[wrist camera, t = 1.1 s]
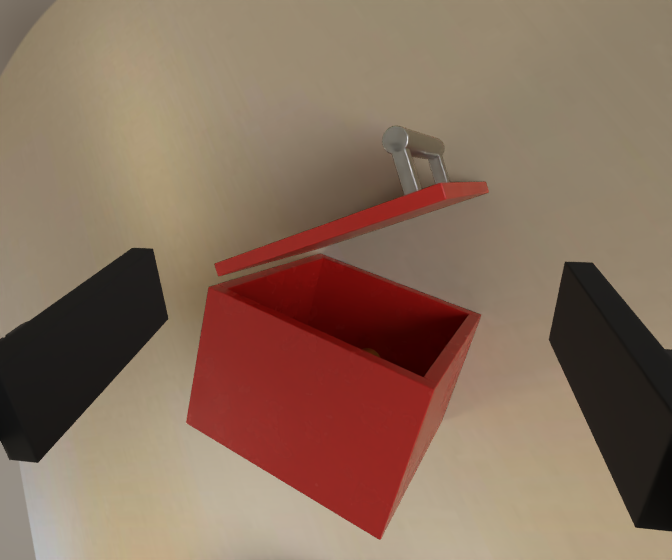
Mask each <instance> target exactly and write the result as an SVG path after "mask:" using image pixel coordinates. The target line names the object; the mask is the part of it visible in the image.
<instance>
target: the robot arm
mask: <svg viewBox="0 0 672 560" xmlns="http://www.w3.org/2000/svg"><path fill="white" fill-rule="evenodd" d="M167 320H168V315H167V310H166V305H165V301H164V296H163V292H162V287H161V283H160V278H159V274H158V269H157V265H156V260H155V255H154V251H153V249H147V248H131V249H130V250H129V251H127V252H126V253H124V254H123V255H122V256H120V257H119V258H117V259H116V260H114V261H113V262H112V263H110V264H109V265H107V266H106V267H105V268H103V269H102V270H100V271H99V272H98V273H96V274H95V275H93V276H92V277H91V278H89V279H88V280H86V281H85V282H83V283H82V284H81V285H79V286H78V287H76V288H75V289H74V290H72V291H71V292H69V293H68V294H67V295H65V296H64V297H62V298H61V299H60V300H58V301H57V302H55V303H54V304H52V305H51V306H50V307H48V308H47V309H45V310H44V311H43V312H41V313H40V314H38V315H37V316H36V317H34V318H33V319H31V320H30V321H27V322H25V323H23V324H21V325H19V326H18V327H17V328H15V329H14V330H12V331H11V332H10V333H8V334H7V335H5V336H6V337H5V338H3V337H2V338H1V339H0V441H1V443H2V445H3V447H4V449H5V451H6V453H7V455H8V458H9V460H18V461H27V462H36V463H38V462H39V461H40V460H41V459H42V458H43V457H44V456H45V454H46V453H47V452H48V451H49V450H50V449H51V448H52V447H53V446H54V444H55V443H56V442H57V441H58V440H59V439H60V438H61V437H62V436H63V435H64V433H65V432H66V431H67V430H68V429H69V428H70V427H71V426H72V425H73V424H74V422H75V421H76V420H77V419H78V418H79V417H80V416H81V415H82V414H83V413H84V411H85V410H86V409H87V408H88V407H89V406H90V405H91V404H92V403H93V401H94V400H95V399H96V398H97V397H98V396H99V395H100V394H101V393H102V392H103V390H104V389H105V388H106V387H107V386H108V385H109V384H110V383H111V382H112V381H113V379H114V378H115V377H116V376H117V375H118V374H119V373H120V372H121V371H122V369H123V368H124V367H125V366H126V365H127V364H128V363H129V362H130V361H131V360H132V358H133V357H134V356H135V355H136V354H137V353H138V352H139V351H140V350H141V349H142V347H143V346H144V345H145V344H146V343H147V342H148V341H149V340H150V339H151V337H152V336H153V335H154V334H155V333H156V332H157V331H158V330H159V329H160V328H161V326H162V325H163V324H164V323H165V322H166V321H167ZM549 341H550V343H551V346H552V348H553V350H554V352H555V354H556V356H557V359H558V361H559V363H560V365H561V367H562V369H563V372H564V374H565V376H566V378H567V380H568V382H569V385H570V387H571V389H572V391H573V393H574V395H575V398H576V400H577V402H578V404H579V406H580V408H581V410H582V413H583V415H584V417H585V419H586V421H587V423H588V426H589V428H590V430H591V432H592V434H593V436H594V439H595V441H596V443H597V445H598V447H599V449H600V452H601V454H602V456H603V458H604V460H605V462H606V465H607V467H608V469H609V471H610V473H611V475H612V478H613V480H614V482H615V484H616V486H617V488H618V491H619V493H620V495H621V497H622V499H623V501H624V504H625V506H626V508H627V510H628V512H629V514H630V517H631V519H632V521H633V523H634V525H635V527H636V528H645V529H654V530H663V531H672V350H669V349H664V348H663V347H662V346H661V344H660V343H659V342H658V341H657V340H656V338H655V337H654V336H653V335H652V334H651V332H650V331H649V330H648V329H647V328H646V326H645V325H644V324H643V323H642V322H641V320H640V319H639V318H638V317H637V316H636V314H635V313H634V312H633V311H632V310H631V308H630V307H629V306H628V305H627V304H626V302H625V301H624V300H623V299H622V298H621V296H620V295H619V294H618V293H617V291H616V290H615V289H614V288H613V287H612V285H611V284H610V283H609V282H608V281H607V279H606V278H605V277H604V276H603V275H602V273H601V272H600V271H599V270H598V269H597V267H596V266H595V265H594V264H593V263H587V262H565V264H564V269H563V274H562V278H561V283H560V288H559V293H558V298H557V303H556V308H555V312H554V317H553V322H552V327H551V332H550V337H549Z"/></svg>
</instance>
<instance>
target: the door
mask: <svg viewBox="0 0 672 560" xmlns="http://www.w3.org/2000/svg"><path fill="white" fill-rule="evenodd" d="M382 143H383V147H384V149H385V150H386V151H387V152H388V153H390V154H392V156H393V160H394V163H395V166H396V169H397V173H398V176H399V179H400V183H401V186H402V189H403V192H404V196H401V197H399V198H396V199H393V200H390V201H388V202H385V203H382V204H379V205H376V206H374V207H371V208H368V209H365V210H362V211H360V212H357V213H354V214H351V215H349V216H346V217H343V218H340V219H337V220H335V221H332V222H329V223H326V224H323V225H321V226H318V227H315V228H312V229H310V230H307V231H304V232H301V233H298V234H296V235H293V236H290V237H287V238H284V239H282V240H279V241H276V242H273V243H271V244H268V245H265V246H262V247H259V248H257V249H254V250H251V251H248V252H245V253H243V254H240V255H237V256H234V257H231V258H229V259H226V260H223V261H220V262H218V263H215V264H214V265H215V268H216V271H217V274H218V276H222V275H226V274H230V273H233V272H237V271H240V270H244V269H248V268H251V267H255V266H258V265H262V264H266V263H269V262H273V261H276V260H280V259H284V258H287V257H291V256H294V255H298V254H302V253H305V252H309V251H312V250H316V249H320V248H323V247H326V246H329V245H332V244H335V243H338V242H341V241H344V240H347V239H350V238H353V237H356V236H359V235H362V234H365V233H368V232H371V231H374V230H377V229H380V228H383V227H386V226H389V225H392V224H395V223H398V222H401V221H404V220H407V219H410V218H414V217H417V216H420V215H423V214H426V213H429V212H432V211H435V210H438V209H441V208H444V207H447V206H450V205H453V204H456V203H459V202H462V201H465V200H468V199H471V198H474V197H477V196H480V195H483V194H486V193H488V192H489V190H488V187H487V184H486V182H450V180H449V177H448V173H447V170H446V167H445V163H444V160H443V157H442V155H443V153H444V144H443V142H442V141H441V140H440V139H438V138H434V137H431V136H428V135H425V134H422V133H419V132H416V131H413V130H410V129H407V128H404V127H400V126H392V127H390V128H388V129H387V130H386V131H385V133H384V135H383V138H382ZM412 157H415V158H422V159H428V161H429V164H430V168H431V171H432V174H433V177H434V181H435V185H432V186H429V187H427V188H424V189H422V188H421V185H420V182H419V178H418V175H417V172H416V169H415V165H414V162H413V159H412Z"/></svg>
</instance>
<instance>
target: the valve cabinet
mask: <svg viewBox="0 0 672 560" xmlns="http://www.w3.org/2000/svg"><path fill="white" fill-rule="evenodd" d="M480 318H481V315H480V314H477V313H475V312H472V311H470V310H467V309H464V308H462V307H459V306H456V305H454V304H451V303H449V302H446V301H443V300H441V299H438V298H435V297H433V296H430V295H428V294H425V293H422V292H420V291H417V290H414V289H412V288H409V287H407V286H404V285H401V284H399V283H396V282H393V281H391V280H388V279H386V278H383V277H380V276H378V275H375V274H373V273H370V272H367V271H365V270H362V269H359V268H357V267H354V266H352V265H349V264H346V263H344V262H341V261H338V260H336V259H333V258H331V257H328V256H325V255H323V254H317V255H313V256H310V257H307V258H303V259H300V260H297V261H293V262H290V263H287V264H283V265H280V266H277V267H273V268H270V269H267V270H263V271H260V272H257V273H253V274H250V275H246V276H243V277H240V278H236V279H233V280H230V281H226V282H223V283H220V284H218V285H213V286H210V287H209V288H208V294H207V300H206V306H205V312H204V318H203V324H202V330H201V336H200V342H199V348H198V354H197V360H196V366H195V372H194V378H193V384H192V390H191V396H190V402H189V409H188V415H187V421H186V423H187V424H189V425H190V426H192V427H194V428H195V429H197V430H199V431H200V432H202V433H204V434H205V435H207V436H209V437H210V438H212V439H214V440H215V441H217V442H219V443H220V444H222V445H224V446H225V447H227V448H229V449H230V450H232V451H233V452H235V453H237V454H238V455H240V456H242V457H243V458H245V459H247V460H248V461H250V462H252V463H253V464H255V465H257V466H258V467H260V468H262V469H263V470H265V471H267V472H268V473H270V474H271V475H273V476H275V477H276V478H278V479H280V480H281V481H283V482H285V483H286V484H288V485H290V486H291V487H293V488H295V489H296V490H298V491H300V492H301V493H303V494H305V495H306V496H308V497H310V498H311V499H313V500H314V501H316V502H318V503H319V504H321V505H323V506H324V507H326V508H328V509H329V510H331V511H333V512H334V513H336V514H338V515H339V516H341V517H343V518H344V519H346V520H348V521H349V522H351V523H353V524H354V525H356V526H357V527H359V528H361V529H362V530H364V531H366V532H367V533H369V534H371V535H372V536H374V537H376V538H377V539H379V540H380V539H381V538H382V536H383V534H384V532H385V530H386V528H387V526H388V524H389V522H390V520H391V519H392V517H393V515H394V513H395V511H396V509H397V507H398V505H399V503H400V501H401V499H402V497H403V495H404V493H405V491H406V489H407V488H408V486H409V484H410V482H411V480H412V478H413V476H414V474H415V472H416V470H417V468H418V466H419V464H420V462H421V460H422V458H423V457H424V455H425V453H426V451H427V449H428V447H429V445H430V443H431V441H432V439H433V437H434V435H435V433H436V431H437V429H438V427H439V426H440V424H441V421H442V419H443V416H444V413H445V411H446V408H447V406H448V403H449V400H450V398H451V395H452V392H453V390H454V387H455V384H456V382H457V379H458V376H459V374H460V371H461V368H462V366H463V363H464V360H465V358H466V355H467V352H468V350H469V347H470V344H471V342H472V339H473V336H474V334H475V331H476V328H477V326H478V323H479V320H480Z"/></svg>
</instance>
